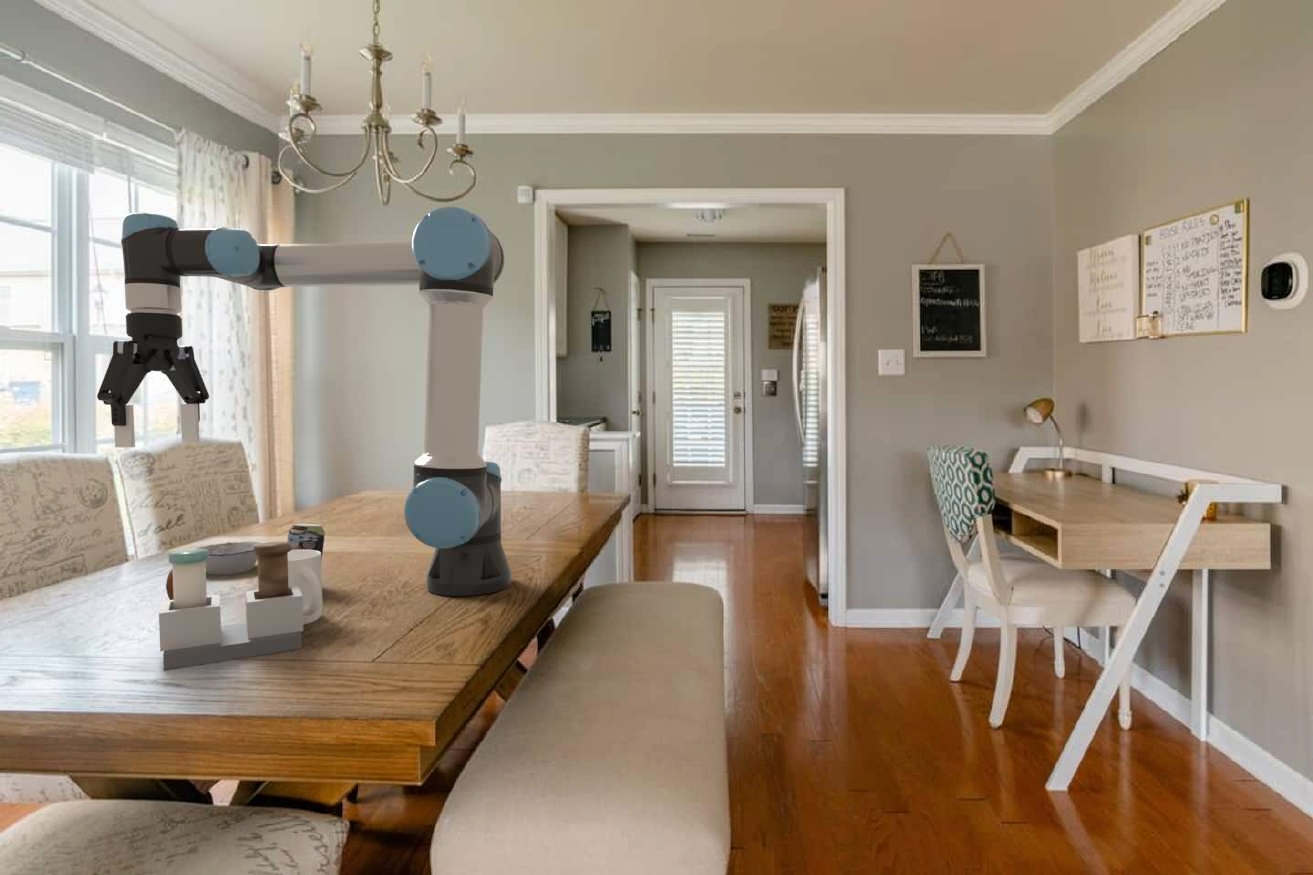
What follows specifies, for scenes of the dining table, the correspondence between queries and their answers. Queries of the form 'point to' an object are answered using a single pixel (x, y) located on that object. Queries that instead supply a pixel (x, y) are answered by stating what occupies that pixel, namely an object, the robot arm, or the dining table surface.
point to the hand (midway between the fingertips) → (159, 444)
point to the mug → (307, 581)
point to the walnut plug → (272, 569)
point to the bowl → (230, 557)
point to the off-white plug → (189, 577)
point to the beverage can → (306, 537)
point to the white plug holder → (230, 630)
